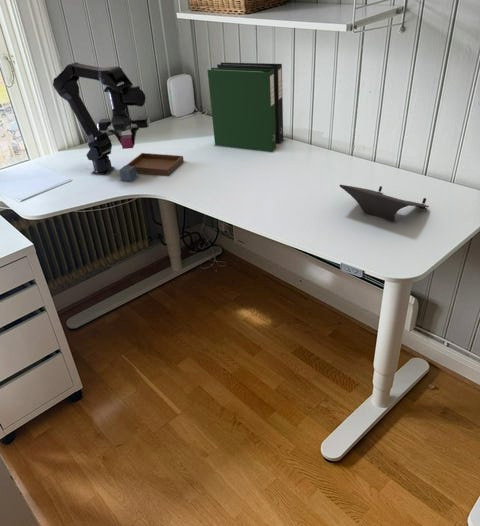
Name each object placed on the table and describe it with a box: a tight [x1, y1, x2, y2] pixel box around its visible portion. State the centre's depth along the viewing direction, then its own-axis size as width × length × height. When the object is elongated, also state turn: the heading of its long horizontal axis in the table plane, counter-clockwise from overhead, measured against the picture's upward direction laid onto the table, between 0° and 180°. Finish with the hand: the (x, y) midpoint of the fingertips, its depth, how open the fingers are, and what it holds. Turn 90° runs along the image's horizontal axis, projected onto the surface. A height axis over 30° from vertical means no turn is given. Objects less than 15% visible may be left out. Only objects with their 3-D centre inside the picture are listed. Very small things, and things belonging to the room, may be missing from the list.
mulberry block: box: [120, 134, 135, 150], centre depth 185 cm, size 4×4×4 cm
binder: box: [206, 62, 284, 153], centre depth 206 cm, size 27×15×32 cm, turn 66°
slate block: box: [118, 164, 138, 182], centre depth 191 cm, size 4×4×4 cm
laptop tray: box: [339, 184, 430, 223], centre depth 154 cm, size 23×23×9 cm
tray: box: [126, 152, 185, 177], centre depth 199 cm, size 19×14×3 cm
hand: (128, 145), depth 186 cm, fingers closed on mulberry block, 4 cm apart
